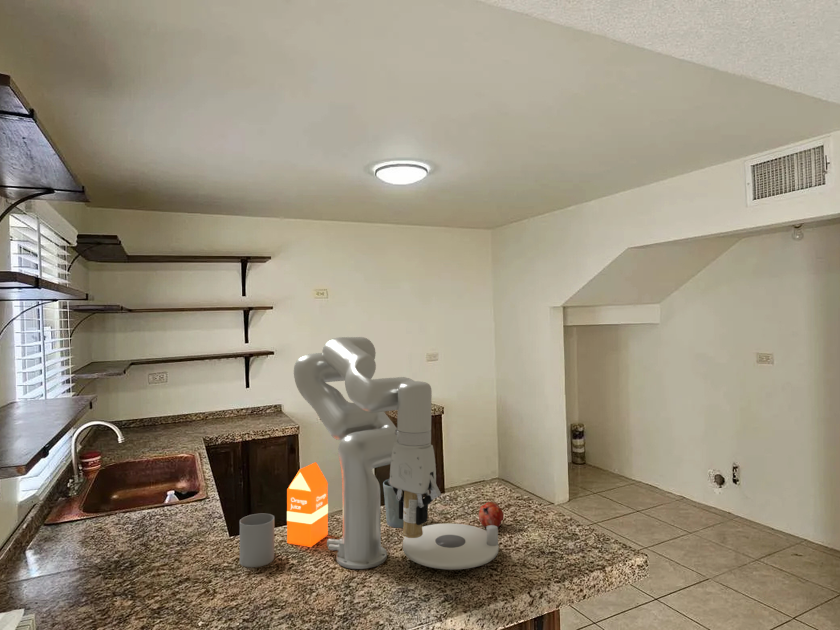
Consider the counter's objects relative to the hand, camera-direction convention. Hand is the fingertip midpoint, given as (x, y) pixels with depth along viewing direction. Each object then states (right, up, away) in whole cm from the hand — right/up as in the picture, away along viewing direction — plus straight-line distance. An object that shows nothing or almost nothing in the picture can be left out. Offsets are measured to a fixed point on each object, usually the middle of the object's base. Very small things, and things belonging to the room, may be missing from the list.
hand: (413, 519), depth 113 cm
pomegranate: (+22, -16, +35) cm, 45 cm away
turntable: (+9, -16, +16) cm, 24 cm away
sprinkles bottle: (0, -4, 0) cm, 4 cm away
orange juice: (-29, -17, +28) cm, 44 cm away
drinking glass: (-4, -17, +39) cm, 43 cm away
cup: (-39, -16, +15) cm, 45 cm away
